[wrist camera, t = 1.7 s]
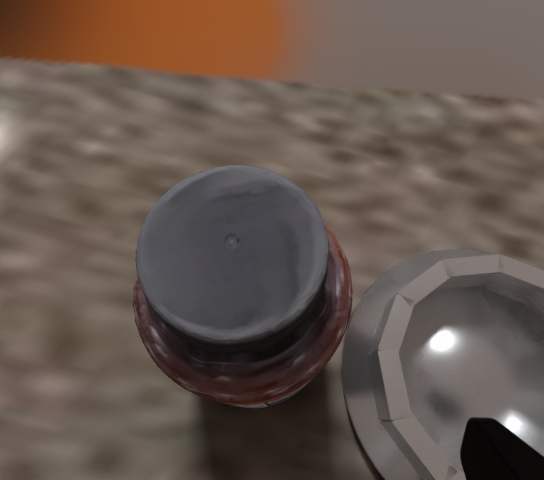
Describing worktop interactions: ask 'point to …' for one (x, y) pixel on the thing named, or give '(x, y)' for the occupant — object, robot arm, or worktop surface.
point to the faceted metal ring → (444, 359)
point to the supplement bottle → (240, 286)
